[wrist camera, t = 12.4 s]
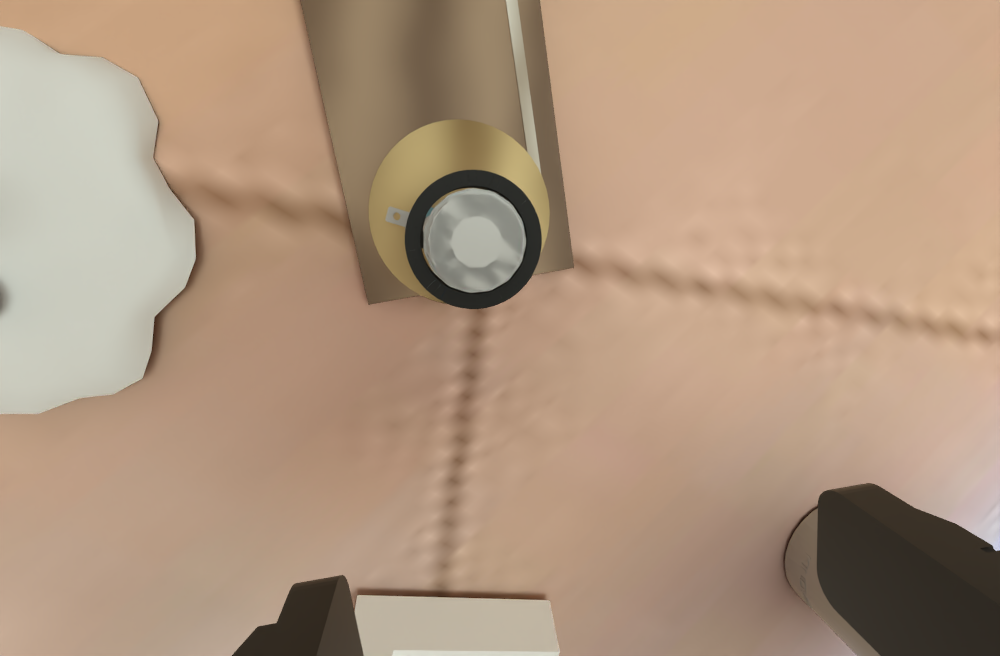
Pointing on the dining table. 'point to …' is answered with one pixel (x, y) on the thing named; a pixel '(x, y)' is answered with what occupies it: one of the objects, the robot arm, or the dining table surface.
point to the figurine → (80, 227)
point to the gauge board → (435, 116)
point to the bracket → (455, 626)
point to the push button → (472, 239)
